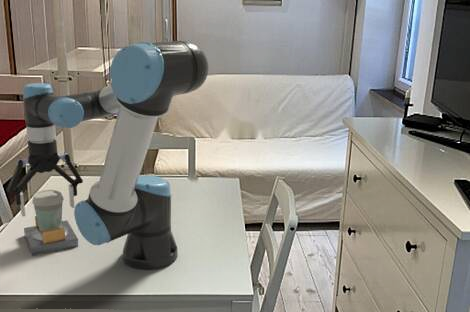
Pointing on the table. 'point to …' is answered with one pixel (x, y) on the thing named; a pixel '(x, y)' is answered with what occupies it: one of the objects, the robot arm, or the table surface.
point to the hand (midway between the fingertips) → (48, 210)
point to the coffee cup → (48, 209)
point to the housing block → (50, 238)
